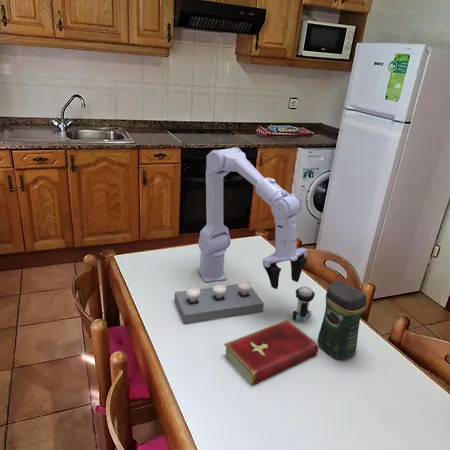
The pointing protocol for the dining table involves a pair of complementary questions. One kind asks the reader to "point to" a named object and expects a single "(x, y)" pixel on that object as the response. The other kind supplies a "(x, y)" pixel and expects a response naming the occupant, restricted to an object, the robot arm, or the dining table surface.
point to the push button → (303, 304)
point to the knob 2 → (244, 287)
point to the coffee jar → (341, 320)
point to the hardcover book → (270, 351)
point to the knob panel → (217, 304)
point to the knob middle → (219, 290)
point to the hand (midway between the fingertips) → (284, 284)
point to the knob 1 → (193, 293)
